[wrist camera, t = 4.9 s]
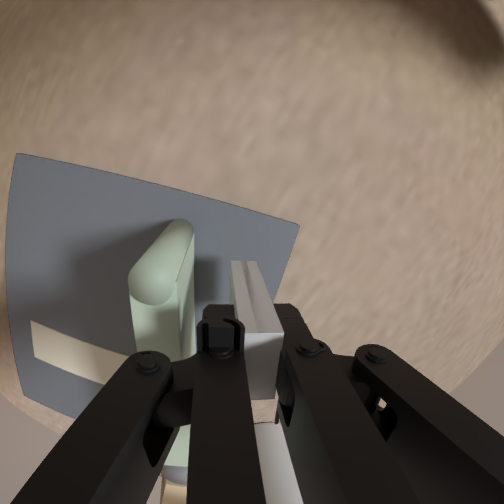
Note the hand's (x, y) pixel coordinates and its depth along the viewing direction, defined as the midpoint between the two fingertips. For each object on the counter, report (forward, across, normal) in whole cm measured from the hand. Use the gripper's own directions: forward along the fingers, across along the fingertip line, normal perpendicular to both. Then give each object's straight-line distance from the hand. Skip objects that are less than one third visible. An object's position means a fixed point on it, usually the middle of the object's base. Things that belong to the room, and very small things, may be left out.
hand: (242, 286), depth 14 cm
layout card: (+2, -8, -5) cm, 10 cm away
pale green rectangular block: (+1, -3, -3) cm, 5 cm away
